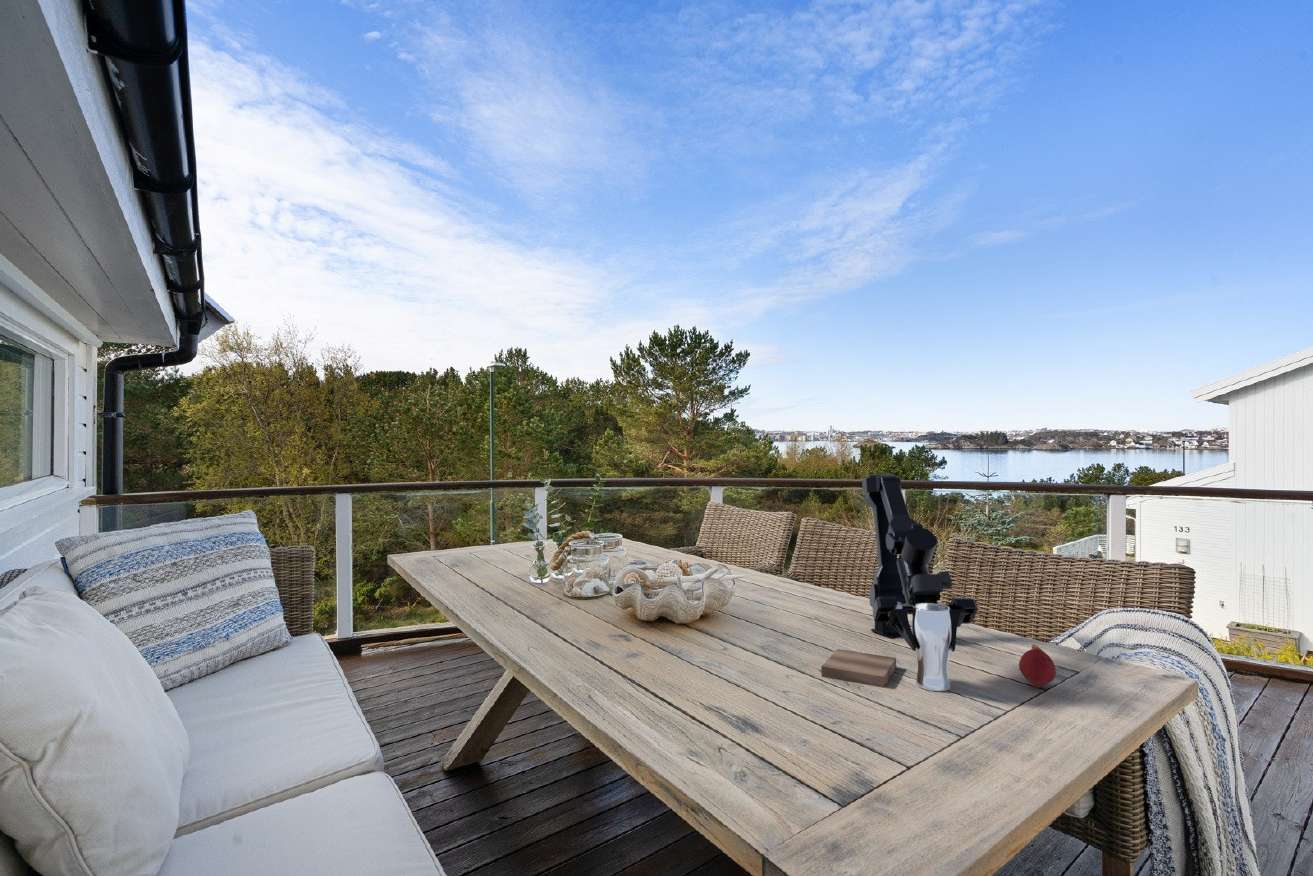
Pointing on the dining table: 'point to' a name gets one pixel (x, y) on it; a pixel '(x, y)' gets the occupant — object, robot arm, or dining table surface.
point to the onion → (1037, 667)
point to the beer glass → (932, 644)
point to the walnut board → (859, 667)
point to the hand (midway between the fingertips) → (934, 650)
